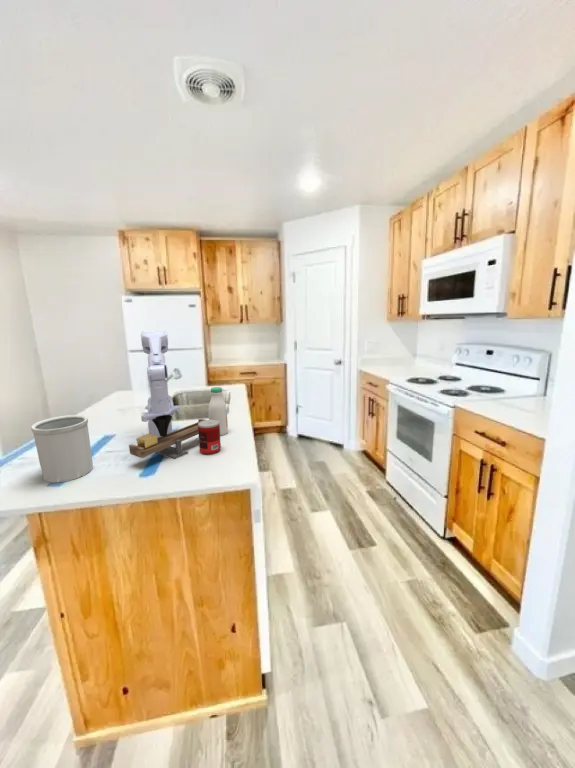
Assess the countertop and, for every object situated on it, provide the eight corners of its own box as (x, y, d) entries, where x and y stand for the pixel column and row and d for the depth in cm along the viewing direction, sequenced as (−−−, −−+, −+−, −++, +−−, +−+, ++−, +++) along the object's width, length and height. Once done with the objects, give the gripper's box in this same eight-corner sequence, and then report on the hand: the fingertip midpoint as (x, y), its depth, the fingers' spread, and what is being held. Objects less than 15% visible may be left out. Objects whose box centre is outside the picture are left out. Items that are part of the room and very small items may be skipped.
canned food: (223, 446, 129) (221, 419, 126) (217, 455, 121) (215, 426, 119) (204, 446, 129) (202, 419, 127) (196, 454, 122) (194, 426, 119)
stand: (155, 452, 124) (153, 438, 123) (168, 447, 129) (167, 433, 128) (174, 459, 118) (173, 443, 117) (188, 453, 123) (186, 438, 122)
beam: (129, 453, 113) (128, 445, 112) (200, 425, 139) (199, 418, 138) (142, 458, 109) (141, 449, 108) (212, 428, 136) (211, 421, 135)
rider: (137, 449, 113) (136, 438, 113) (150, 444, 118) (149, 433, 117) (145, 451, 111) (144, 440, 111) (158, 446, 116) (156, 435, 115)
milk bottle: (226, 436, 140) (223, 389, 136) (207, 436, 140) (204, 390, 136) (229, 430, 148) (227, 385, 144) (212, 430, 148) (209, 386, 144)
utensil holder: (62, 487, 99) (53, 431, 96) (29, 479, 104) (19, 426, 101) (104, 466, 113) (98, 417, 109) (73, 460, 118) (66, 413, 114)
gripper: (148, 405, 109) (152, 444, 111) (184, 396, 121) (186, 431, 123) (135, 402, 112) (139, 440, 115) (171, 393, 124) (174, 428, 127)
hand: (163, 435), depth 120 cm, fingers closed
